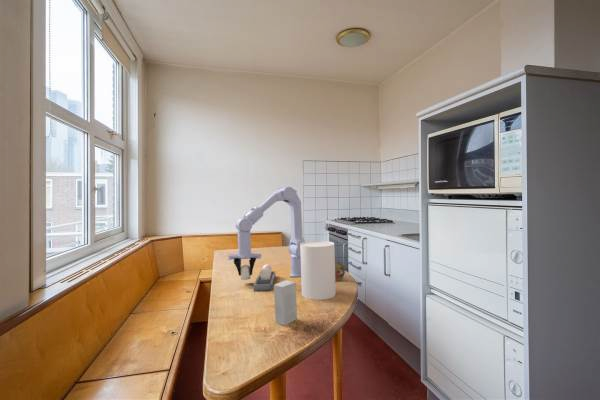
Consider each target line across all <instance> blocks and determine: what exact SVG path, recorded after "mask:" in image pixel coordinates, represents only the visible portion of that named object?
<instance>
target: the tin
mask: <svg viewBox="0 0 600 400" xmlns="http://www.w3.org/2000/svg"><path fill="white" fill-rule="evenodd" d="M345 273H346V270H345V267H344V265H343V264H342V263H341V262H338V261H335V282H339V281H341V280H342V279H343V278H344V277H345V275H346V274H345Z"/></svg>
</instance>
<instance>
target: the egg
mask: <svg viewBox="0 0 600 400" xmlns="http://www.w3.org/2000/svg"><path fill="white" fill-rule="evenodd" d="M251 276H252V275H250V265H248V264H243V265H241V275H240V280H243V281H247V280H250V279H251V278H252V277H251Z"/></svg>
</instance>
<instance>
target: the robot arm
mask: <svg viewBox="0 0 600 400" xmlns="http://www.w3.org/2000/svg"><path fill="white" fill-rule="evenodd" d="M281 201H282V202H284V203H286V204H287V205H288V206H289V207H290V209H289V210H290V228H291V229H290V230H291V238H290V239H289V245H288V248H287V249H288V253H289V254H290V273H289V274H290V275H289V277H291V278H296V277H298V278H299V277H300V278H301V252H300V244H301V243H303V242H306V241H305V240H304V237H303V219H302V218H303V217H302V202H301V199H300V197H299V195H298V192H297V190H296V189H294V188H293V187H292V186H286V187H279V188H278V189H277V190H274V191H273V193H271V194H270V196H269V197H267V199H265V200H264V201H263V203H261V204H260V205H259V206H254V207H251V208H250V209H249V211H248V212H247V213H246V214H244V215H242V218H239V219H238V220H236V224H235V228H236V229H237V246H238V247H237V253H235V254H229V255H228V258H227V259H228V260H229V261H231V260H233V264H234V265H235V268H236V270H237V273H238V276H240V277H241V267H242V260H248V262H249V267H250V275H251V276H253V269H254V266H255V263H256V260H257V259H262V253H254V252H253V253H252V239H251V238H252V236H251V230H252V228H253V226H254V225H255V224H256V223H257V222H259V220H261V218H262V217H264V212H265V211H267V210H268V209H269V208H271V207H272V206H273V205H274V204H275V203H277V202H281Z"/></svg>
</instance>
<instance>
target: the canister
mask: <svg viewBox="0 0 600 400" xmlns="http://www.w3.org/2000/svg"><path fill="white" fill-rule="evenodd" d="M300 252H301V277H300V278H301V279H300V280H301V281H300V282H301V286H300V287H301V296H302V297H303V298H305V299H308V300H313V301H321V300H322V301H323V300H328V299H332V298H334V297H335V296H336V294H337V293H336V291H337V290H336V289H337V287H336V281H335V262H336V259H335V258H336V256H335V255H336V254H335V253H336V251H335V243H334V242H333V241H327V240H313V241H309V240H308V241H305V242H303V243H301V244H300Z"/></svg>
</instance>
